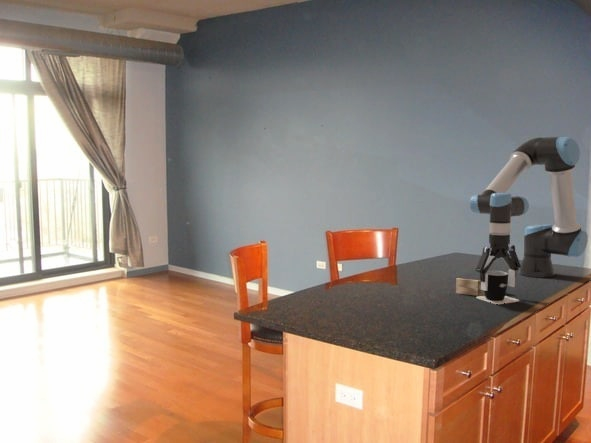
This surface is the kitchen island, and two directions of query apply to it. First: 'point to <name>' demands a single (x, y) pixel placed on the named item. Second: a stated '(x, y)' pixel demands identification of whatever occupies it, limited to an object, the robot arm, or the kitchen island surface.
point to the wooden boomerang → (469, 287)
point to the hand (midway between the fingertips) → (497, 288)
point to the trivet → (505, 300)
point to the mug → (496, 285)
